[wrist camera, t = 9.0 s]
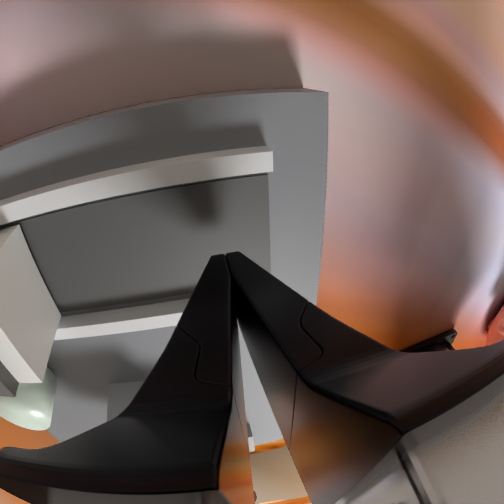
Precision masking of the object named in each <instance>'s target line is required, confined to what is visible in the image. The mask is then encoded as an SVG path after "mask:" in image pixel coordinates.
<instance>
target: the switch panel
mask: <svg viewBox="0 0 504 504" xmlns="http://www.w3.org/2000/svg"><path fill="white" fill-rule="evenodd" d="M327 152H328V92H323V91H318V90H312V89H306V88H281V89H257V90H241V91H229V92H218V93H209V94H201V95H193V96H186V97H179V98H172V99H166V100H160V101H155V102H149V103H144V104H139V105H134V106H129V107H125V108H120V109H116V110H112V111H108V112H104V113H100V114H96V115H92V116H88V117H85V118H81V119H78V120H74V121H71V122H67V123H64V124H61V125H58V126H55V127H52V128H49V129H46V130H43V131H40V132H37V133H34V134H32V135H29V136H26V137H23V138H21V139H18V140H16V141H13V142H11V143H8V144H6V145H3V146H1V147H0V230H1V229H4V228H8V227H11V226H15V225H18V224H19V225H20V228H21V230H22V233H23V236H24V238H25V241H26V243H27V245H28V248H29V250H30V253H31V255H32V257H33V260H34V262H35V264H36V266H37V268H38V271H39V273H40V275H41V277H42V279H43V281H44V283H45V285H46V287H47V289H48V291H49V293H50V295H51V297H52V299H53V301H54V303H55V305H56V307H57V308H58V310H59V312H60V314H61V319H60V322H59V325H58V328H57V331H56V335H55V338H54V341H53V345H52V348H51V352H50V356H49V360H48V363H47V367H48V368H49V369H50V370H51V371H52V373H53V374H54V375H55V377H56V380H57V388H56V394H55V399H54V405H53V411H52V418H51V425H50V427H49V428H48V429H46V430H47V431H48V432H49V433H50V434H52V435H53V436H54V437H55V438H56V439H58V440H59V441H60V442H63V441H65V440H68V439H70V438H72V437H74V436H77V435H79V434H81V433H83V432H86V431H88V430H90V429H92V428H94V427H96V426H99V425H101V424H103V423H105V422H107V421H109V420H111V419H113V418H115V417H116V416H118V415H119V414H120V413H121V412H122V411H124V410H125V408H126V407H127V406H128V405H129V403H130V402H131V401H132V399H133V398H134V396H135V395H136V393H137V392H138V390H139V389H140V387H141V385H142V384H143V382H144V381H145V379H146V378H147V376H148V375H149V373H150V372H151V370H152V369H153V367H154V366H155V364H156V362H157V361H158V359H159V358H160V356H161V354H162V353H163V351H164V349H165V347H166V345H167V344H168V342H169V340H170V338H171V336H172V334H173V332H174V329H175V328H176V327H177V324H178V321H179V319H180V317H181V315H182V313H183V311H184V309H185V307H186V305H187V303H188V301H189V299H190V297H191V295H192V293H193V291H194V289H195V287H196V285H197V283H198V281H199V279H200V277H201V275H202V273H203V271H204V269H205V267H206V265H207V263H208V261H209V259H210V257H211V256H212V255H218V254H225V255H226V253H230V252H235V251H239V252H241V253H242V254H244V255H245V256H247V257H248V258H249V259H251V260H252V261H254V262H255V263H256V264H258V265H259V266H261V267H262V268H263V269H265V270H266V271H268V272H269V273H270V274H272V275H273V276H275V277H276V278H277V279H279V280H280V281H282V282H283V283H284V284H286V285H287V286H289V287H290V288H292V289H293V290H294V291H296V292H297V293H299V294H300V295H301V296H303V297H304V298H306V299H307V300H308V301H309V302H311V303H313V304H314V305H316V304H317V295H318V286H319V276H320V265H321V254H322V242H323V229H324V215H325V198H326V178H327ZM237 322H238V320H237ZM238 330H239V342H240V354H241V366H242V378H243V389H244V401H245V412H246V422H247V433H248V443H249V452H251V451H255V448H254V445H259V444H264V443H268V442H273V441H277V440H281V439H284V438H283V436H282V433H281V431H280V429H279V426H278V424H277V421H276V419H275V416H274V414H273V412H272V409H271V407H270V404H269V402H268V399H267V397H266V394H265V392H264V389H263V387H262V384H261V382H260V379H259V377H258V374H257V372H256V369H255V367H254V364H253V361H252V359H251V356H250V354H249V351H248V349H247V346H246V343H245V341H244V338H243V335H242V333H241V330H240V327H239V324H238Z"/></svg>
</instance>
